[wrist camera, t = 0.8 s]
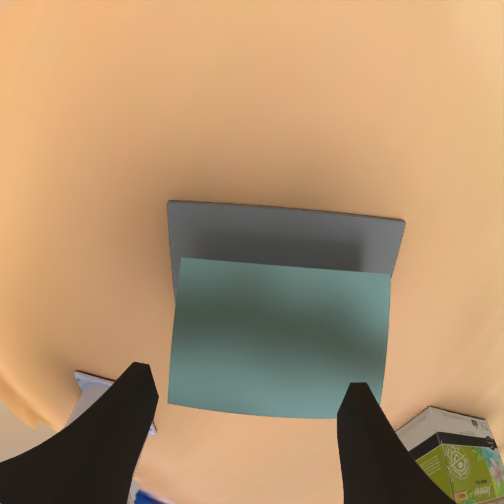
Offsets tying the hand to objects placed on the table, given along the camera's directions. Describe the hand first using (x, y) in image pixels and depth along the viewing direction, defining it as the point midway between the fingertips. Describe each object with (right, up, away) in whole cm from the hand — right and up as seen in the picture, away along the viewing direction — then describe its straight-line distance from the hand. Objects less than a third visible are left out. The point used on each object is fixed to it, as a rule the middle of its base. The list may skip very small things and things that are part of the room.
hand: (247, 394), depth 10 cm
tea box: (+23, -18, +18) cm, 34 cm away
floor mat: (+2, 0, +11) cm, 11 cm away
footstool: (+2, 0, +8) cm, 8 cm away
